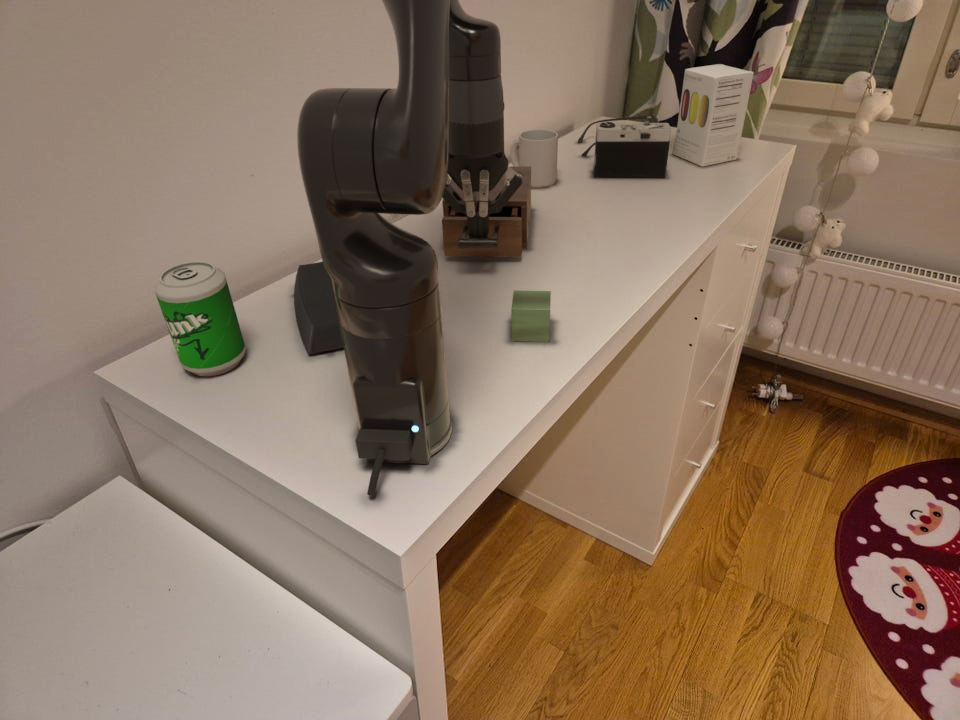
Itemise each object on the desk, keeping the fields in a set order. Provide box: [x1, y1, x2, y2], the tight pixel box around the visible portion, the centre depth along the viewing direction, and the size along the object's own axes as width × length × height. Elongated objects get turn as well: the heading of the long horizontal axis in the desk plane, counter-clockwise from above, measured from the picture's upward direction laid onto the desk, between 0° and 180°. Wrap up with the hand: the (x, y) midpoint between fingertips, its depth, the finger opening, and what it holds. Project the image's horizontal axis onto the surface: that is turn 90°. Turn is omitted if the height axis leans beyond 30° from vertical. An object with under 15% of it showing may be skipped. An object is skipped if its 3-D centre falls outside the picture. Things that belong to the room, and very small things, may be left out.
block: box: [510, 289, 552, 343], centre depth 81 cm, size 5×5×5 cm
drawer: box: [441, 206, 523, 258], centre depth 100 cm, size 20×12×6 cm, turn 174°
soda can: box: [153, 260, 247, 377], centre depth 76 cm, size 8×8×12 cm
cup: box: [509, 129, 559, 189], centre depth 125 cm, size 7×10×9 cm
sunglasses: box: [577, 114, 659, 157], centre depth 140 cm, size 16×17×5 cm
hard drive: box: [293, 261, 344, 355], centre depth 87 cm, size 13×19×4 cm
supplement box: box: [672, 63, 755, 167], centre depth 130 cm, size 10×9×17 cm
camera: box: [593, 120, 672, 179], centre depth 127 cm, size 14×9×10 cm, turn 76°
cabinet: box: [441, 166, 532, 250], centre depth 107 cm, size 16×13×8 cm
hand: (479, 239), depth 93 cm, fingers closed
